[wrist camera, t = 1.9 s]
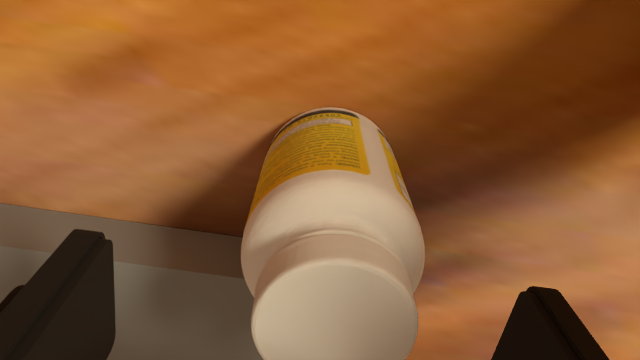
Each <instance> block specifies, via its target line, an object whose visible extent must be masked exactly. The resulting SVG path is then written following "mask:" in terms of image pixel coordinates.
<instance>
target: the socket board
mask: <svg viewBox="0 0 640 360" xmlns="http://www.w3.org/2000/svg"><path fill="white" fill-rule="evenodd" d="M74 229H82V230H90V231H98V232H103V233H104V235H105V239H108V240H111V241H112V243H113V260H114V293H115V325H116V335H115V341H114V345H113V348H112V350H111V352H110V354H109V356H108V358H107V360H264V359H263V358H262V356H261V355H260V354H259V352H258V350H257V348H256V346H255V343H254V341H253V337H252V333H251V314H252V309H253V303H254V297H253V295H252V294H251V292H250V290H249V288H248V286H247V284H246V281H245V278H244V275H243V271H242V265H241V245H242V239H243V237H236V236H229V235H222V234H215V233H208V232H201V231H194V230H187V229H179V228H172V227H165V226H158V225H151V224H144V223H137V222H130V221H122V220H115V219H108V218H101V217H94V216H87V215H80V214H73V213H65V212H58V211H51V210H44V209H37V208H30V207H23V206H16V205H9V204H1V203H0V303H1V302H2V301H3V300H4V298H5V297H6V296H7V295H8V294H9V293H10V292H11V291H12V290H13V289H14V288H15V287H17V286H20V285H25V284H26V283H27V282H28V281H29V280H30V279H31V278H32V276H33V275H34V274H35V273H36V272H37V271H38V269H39V268H40V267H41V266H42V265H43V264H44V263H45V261H46V260H47V259H48V258H49V257H50V256H51V255H52V253H53V252H54V251H55V250H56V249H57V248H58V247H59V245H60V244H61V243H62V242H63V241H64V240H65V238H66V237H67V236H68V235H69V234H70V233H71V232H72V231H73V230H74Z"/></svg>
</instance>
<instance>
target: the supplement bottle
mask: <svg viewBox="0 0 640 360" xmlns="http://www.w3.org/2000/svg"><path fill="white" fill-rule="evenodd" d="M424 264H425V245H424V240H423V235H422V232H421V227H420V224H419V221H418V219H417V216H416V214H415V211H414V208H413V206H412V203H411V200H410V197H409V194H408V192H407V189H406V186H405V183H404V181H403V178H402V175H401V172H400V169H399V166H398V164H397V161H396V158H395V155H394V153H393V151H392V148H391V146H390V144H389V142H388V140H387V138H386V137H385V135H384V134H383V132H382V131H381V130H380V129H379V128H378V127H377V126H376V125H375V124H374V123H373V122H372V121H370V120H369V119H368V118H366V117H364V116H363V115H361V114H359V113H356V112H354V111H351V110H347V109H343V108H334V107H325V108H318V109H313V110H310V111H307V112H304V113H302V114H300V115H298V116H296V117H294V118H293V119H291V120H290V121H289V122H287V123H286V124H285V125H284V126H283V127H282V128H281V129H280V130H279V131H278V133H277V134H276V135H275V137H274V139H273V140H272V142H271V144H270V146H269V149H268V151H267V154H266V156H265V159H264V162H263V166H262V170H261V173H260V177H259V180H258V184H257V187H256V191H255V195H254V198H253V201H252V205H251V208H250V212H249V215H248V219H247V222H246V225H245V229H244V233H243V239H242V245H241V265H242V271H243V275H244V278H245V281H246V284H247V286H248V288H249V290H250V292H251V294H252V295H253V297H254V303H253V309H252V314H251V333H252V337H253V341H254V343H255V346H256V348H257V350H258V352H259V354H260V355H261V356H262V358H263V359H264V360H405V359H406V357H407V356H408V355H409V353H410V351H411V350H412V348H413V346H414V343H415V340H416V337H417V332H418V313H417V308H416V304H415V300H414V296H413V294H414V292H415V291H416V289H417V287H418V285H419V283H420V280H421V277H422V274H423V269H424Z"/></svg>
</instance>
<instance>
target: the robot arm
mask: <svg viewBox="0 0 640 360" xmlns="http://www.w3.org/2000/svg"><path fill="white" fill-rule="evenodd" d="M115 335H116V325H115V293H114V260H113V243H112V241H111V240H108V239H105V235H104V233H103V232H98V231H90V230H82V229H74V230H73V231H72V232H71V233H70V234H69V235H68V236H67V237H66V238H65V240H64V241H63V242H62V243H61V244H60V245H59V247H58V248H57V249H56V250H55V251H54V252H53V253H52V255H51V256H50V257H49V258H48V259H47V260H46V261H45V263H44V264H43V265H42V266H41V267H40V268H39V269H38V271H37V272H36V273H35V274H34V275H33V276H32V278H31V279H30V280H29V281H28V282H27V283H26V284H25V285H20V286H17V287H15V288H14V289H13V290H12V291H11V292H10V293H9V294H8V295H7V296H6V297H5V298H4V300H3V301H2V302H1V303H0V360H107V358H108V356H109V354H110V352H111V350H112V348H113V345H114V341H115ZM491 360H609V358H608V357H607V356H606V354H605V353H604V352H603V350H602V349H601V348H600V346H599V345H598V343H597V342H596V341H595V339H594V338H593V337H592V335H591V334H590V333H589V331H588V330H587V328H586V327H585V326H584V324H583V323H582V322H581V320H580V319H579V318H578V316H577V315H576V313H575V312H574V311H573V309H572V308H571V307H570V305H569V304H568V302H567V301H566V300H565V298H564V297H563V296H562V294H561V293H560V292H559V291H558V290H556V289H551V288H543V287H535V286H531V287H529V288H528V289H527V290H526V292H525V291H523V292H521V293H520V294H519V296H518V298H517V300H516V303H515V305H514V307H513V310H512V312H511V314H510V317H509V319H508V322H507V324H506V326H505V329H504V331H503V333H502V336H501V338H500V340H499V343H498V345H497V347H496V350H495V352H494V354H493V357H492V359H491Z"/></svg>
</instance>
